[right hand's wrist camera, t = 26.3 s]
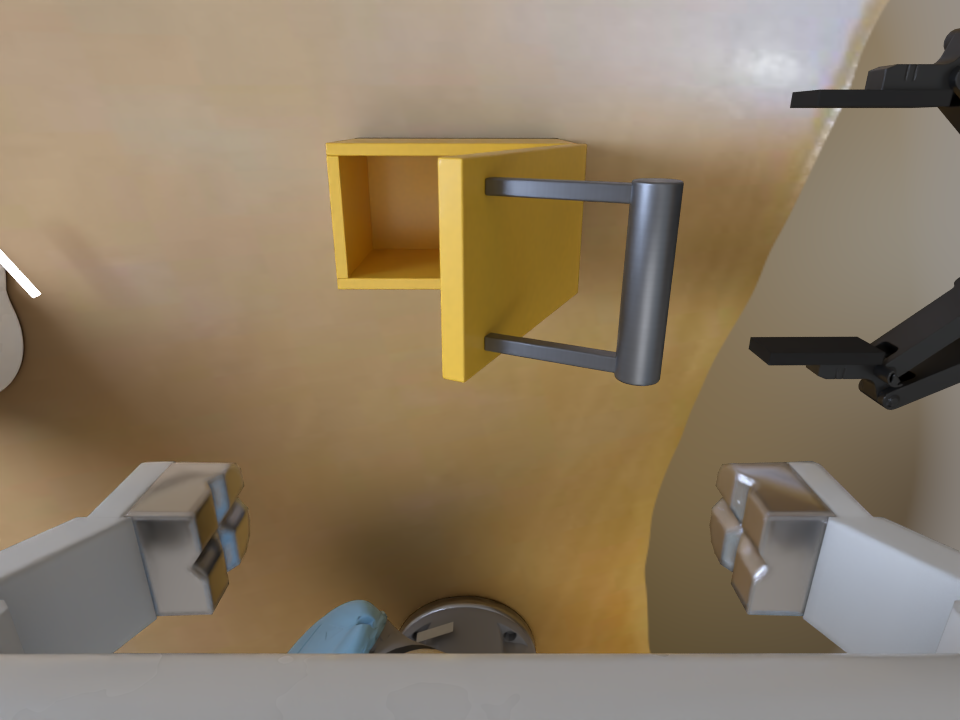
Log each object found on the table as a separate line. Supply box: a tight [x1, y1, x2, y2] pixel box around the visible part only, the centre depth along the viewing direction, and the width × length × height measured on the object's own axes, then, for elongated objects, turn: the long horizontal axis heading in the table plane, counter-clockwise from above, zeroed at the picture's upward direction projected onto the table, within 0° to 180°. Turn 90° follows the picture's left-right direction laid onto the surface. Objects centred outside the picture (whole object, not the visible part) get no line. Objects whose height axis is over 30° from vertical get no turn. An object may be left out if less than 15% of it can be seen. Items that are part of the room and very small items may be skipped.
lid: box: [438, 144, 684, 386], centre depth 30 cm, size 16×9×9 cm
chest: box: [325, 138, 576, 289], centre depth 44 cm, size 15×9×11 cm, turn 90°
